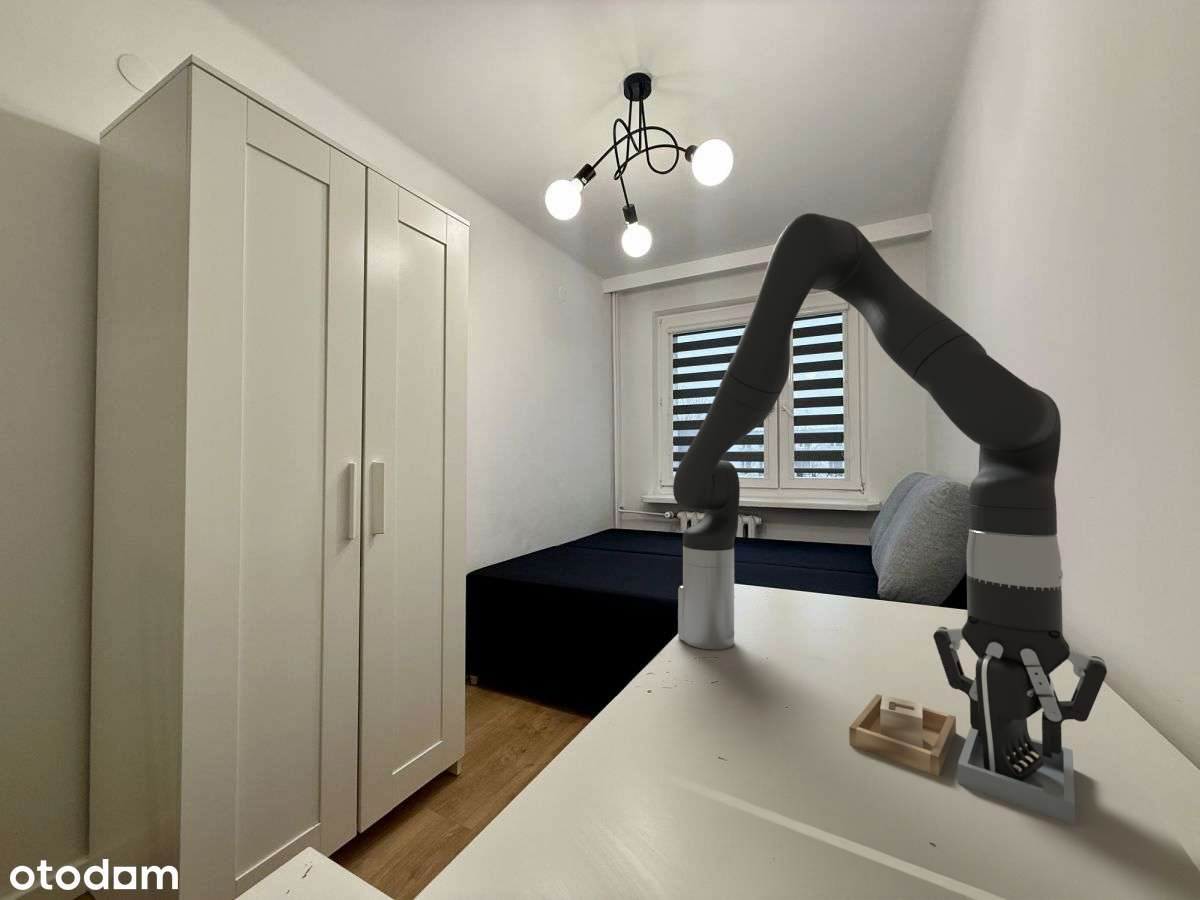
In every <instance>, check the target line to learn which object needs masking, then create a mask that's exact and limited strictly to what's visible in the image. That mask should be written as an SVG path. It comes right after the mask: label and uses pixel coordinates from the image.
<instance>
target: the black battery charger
mask: <svg viewBox="0 0 1200 900" xmlns="http://www.w3.org/2000/svg"><path fill="white" fill-rule="evenodd" d="M975 663H976V664H975V677H976V687H977V700H978V710H979V720H980V729H981V738H982V749H983V762H984V768H985V769H986V770H989V771H992V772H995V773H998V774H1001V775H1004V776H1007V777H1010V778H1013V779H1015V780H1018V781H1024V780H1026V779H1027V778H1029V777H1030V776H1031V775H1032V774H1034V773H1035V772H1036V771H1037V770H1038V769H1039V768H1041V767H1042V765H1043V759H1042V758H1041V756H1040V755H1039V753H1038V751H1037V750H1036V748H1035V747H1034V745H1033V743H1032V741H1031V739H1030V738H1031V736H1030V734H1029V729H1028V718H1030V717H1031V716H1033V715H1035V713H1038V712H1039V711H1040V710H1043V707H1042V705H1041V702H1040V700H1039V697H1038V696H1037V694H1036V692H1035V689H1034V686H1033V684H1032V681H1031V679H1030V676H1029V674H1028V671H1027V668H1026V666H1025V665H1024V664H1023V663H1022V662H1020V661H1018V660H1015V659H1010V658H1004V657H1000V660H999V659H995V658H992V657H989V656H986V657H984V655H982V656H980V657H979V658H978V657H977V660H976V662H975Z"/></svg>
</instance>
